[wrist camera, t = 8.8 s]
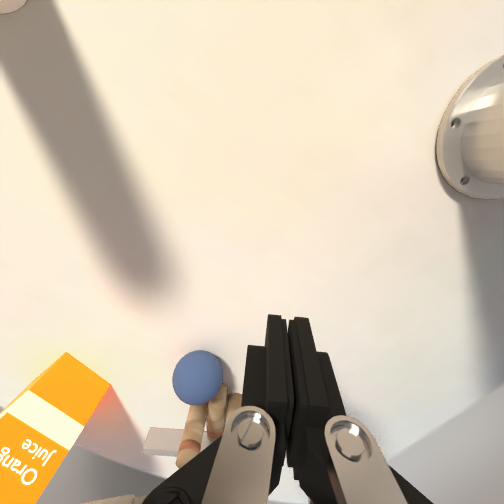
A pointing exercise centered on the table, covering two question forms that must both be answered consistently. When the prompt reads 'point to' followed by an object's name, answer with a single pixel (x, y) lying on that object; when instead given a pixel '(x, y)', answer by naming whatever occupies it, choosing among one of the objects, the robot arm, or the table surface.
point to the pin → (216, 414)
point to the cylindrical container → (10, 5)
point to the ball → (197, 377)
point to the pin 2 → (233, 404)
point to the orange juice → (45, 427)
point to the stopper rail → (167, 441)
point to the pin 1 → (192, 434)
